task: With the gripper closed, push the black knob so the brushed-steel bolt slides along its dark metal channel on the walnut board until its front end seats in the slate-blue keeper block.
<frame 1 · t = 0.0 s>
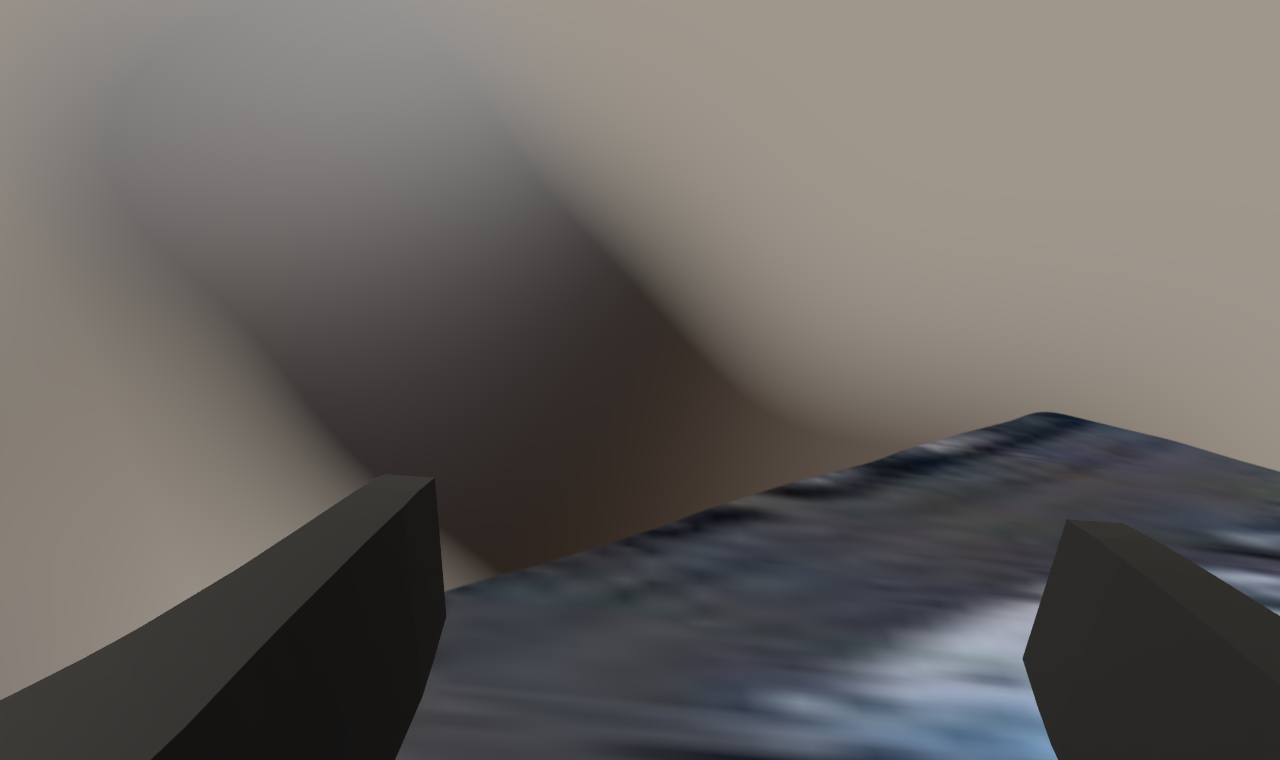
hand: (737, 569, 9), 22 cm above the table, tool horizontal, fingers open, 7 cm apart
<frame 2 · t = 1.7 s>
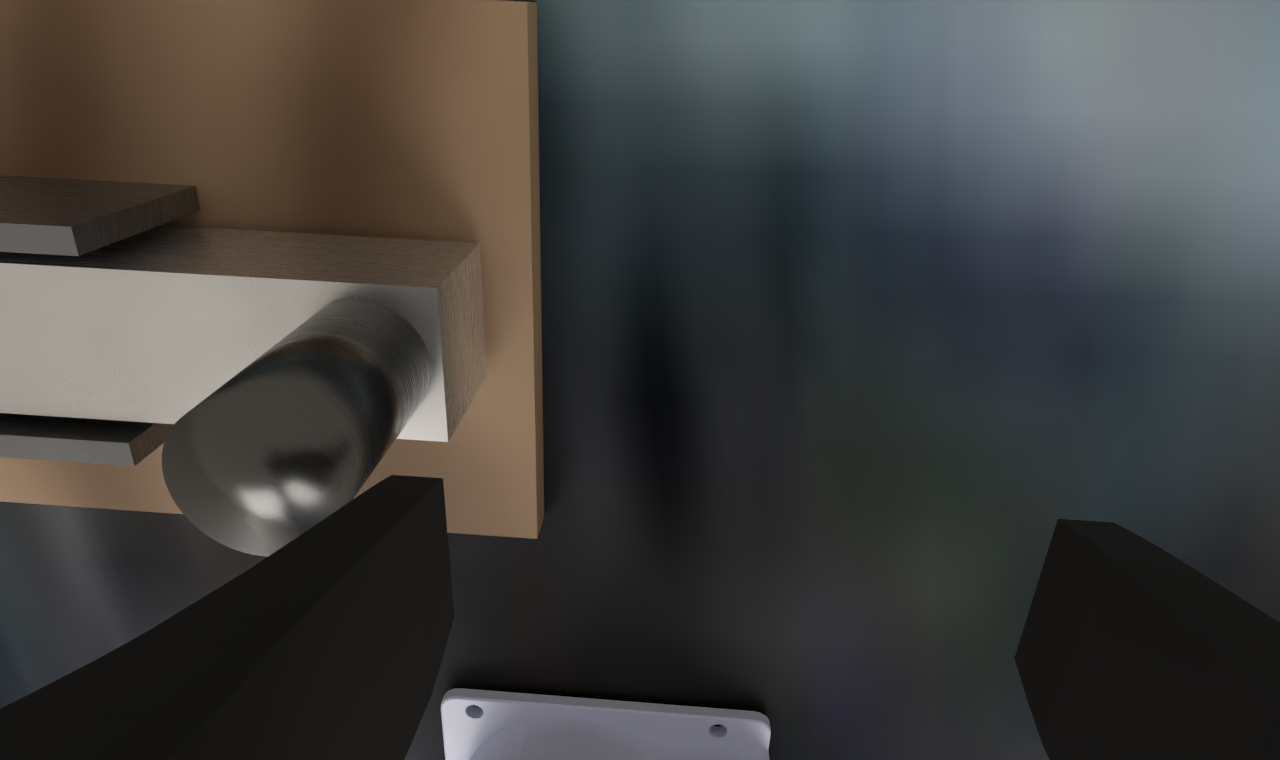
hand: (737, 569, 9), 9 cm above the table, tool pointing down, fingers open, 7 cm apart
bolt: (97, 359, 14), point 5 cm above the table, slide at 0.0 cm
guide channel: (20, 311, 16), on the guide board, point 3 cm above the table
guide board: (114, 270, 18), on the table
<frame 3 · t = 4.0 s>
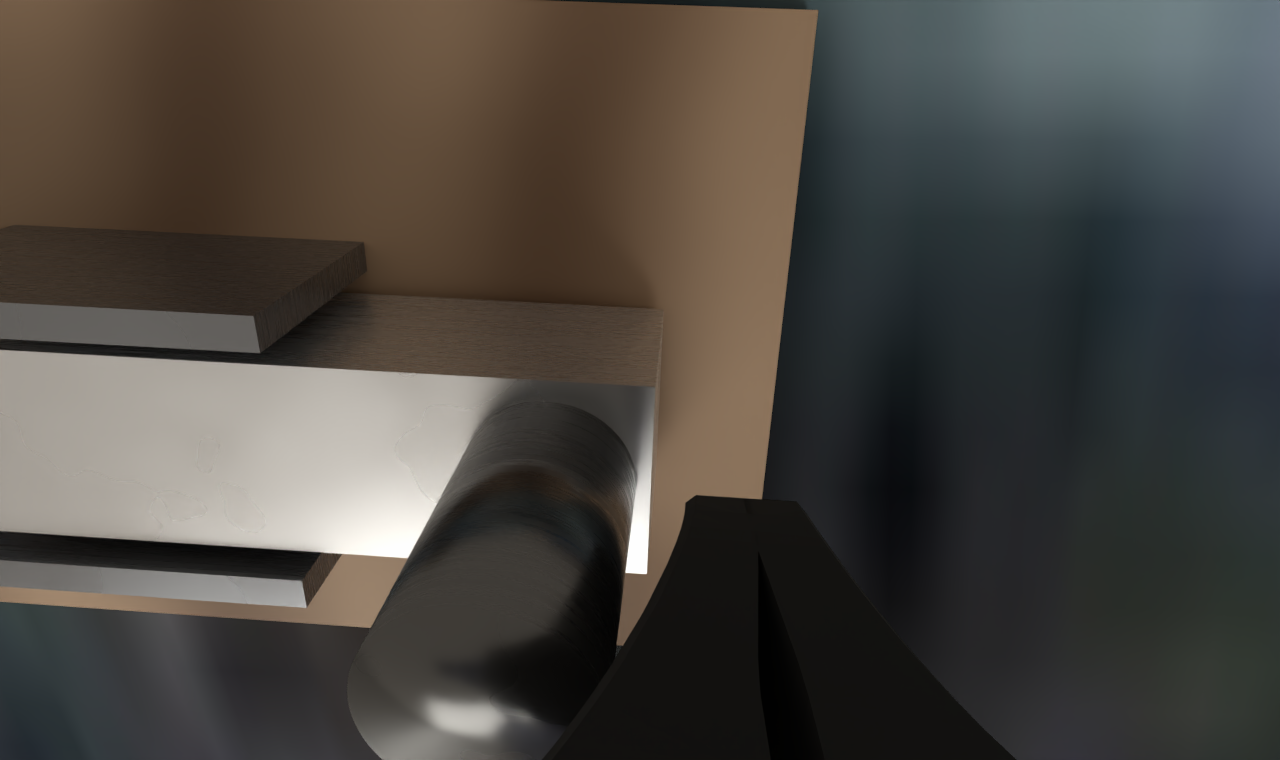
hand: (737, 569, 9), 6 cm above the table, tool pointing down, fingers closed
bolt: (203, 478, 11), point 5 cm above the table, slide at 1.0 cm, touching gripper
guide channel: (151, 403, 12), on the guide board, point 3 cm above the table
guide board: (243, 339, 15), on the table
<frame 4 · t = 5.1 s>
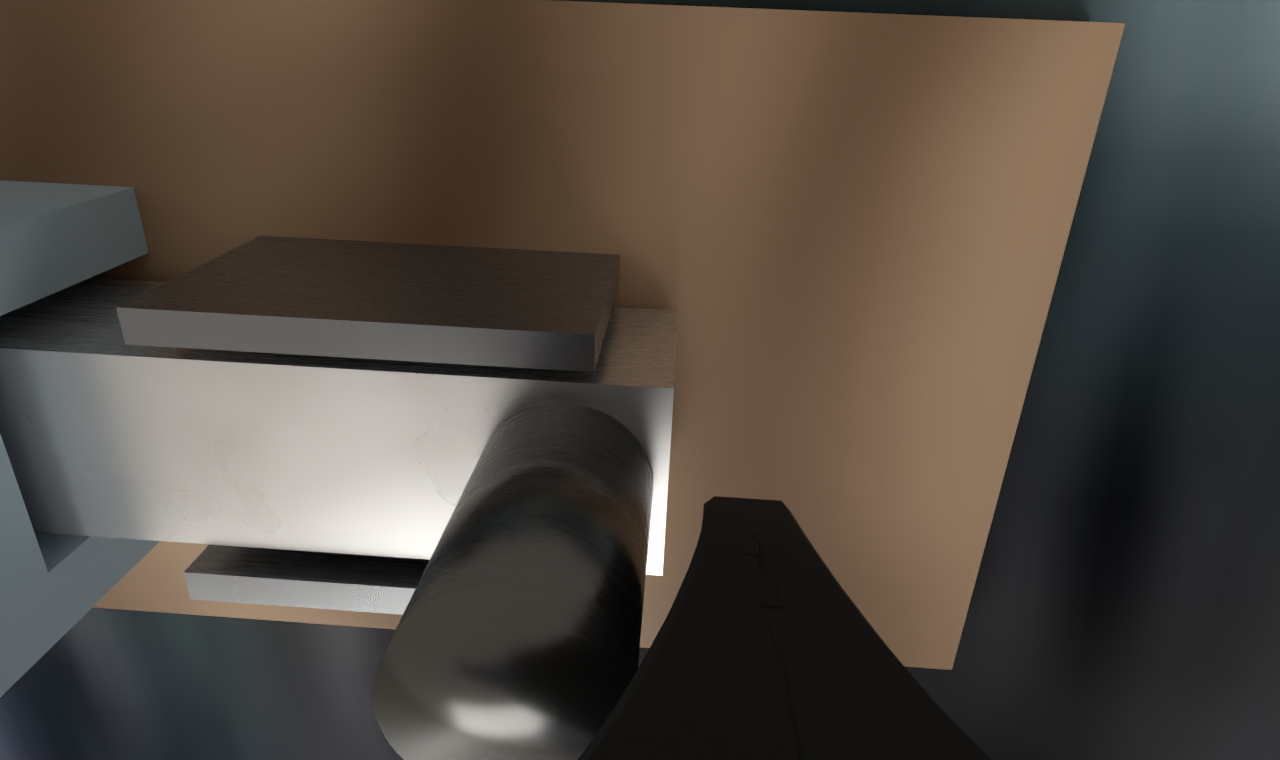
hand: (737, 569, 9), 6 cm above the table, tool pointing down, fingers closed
bolt: (219, 478, 11), point 5 cm above the table, slide at 5.0 cm, touching gripper, keeper
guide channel: (414, 419, 12), on the guide board, point 3 cm above the table
guide board: (462, 350, 15), on the table
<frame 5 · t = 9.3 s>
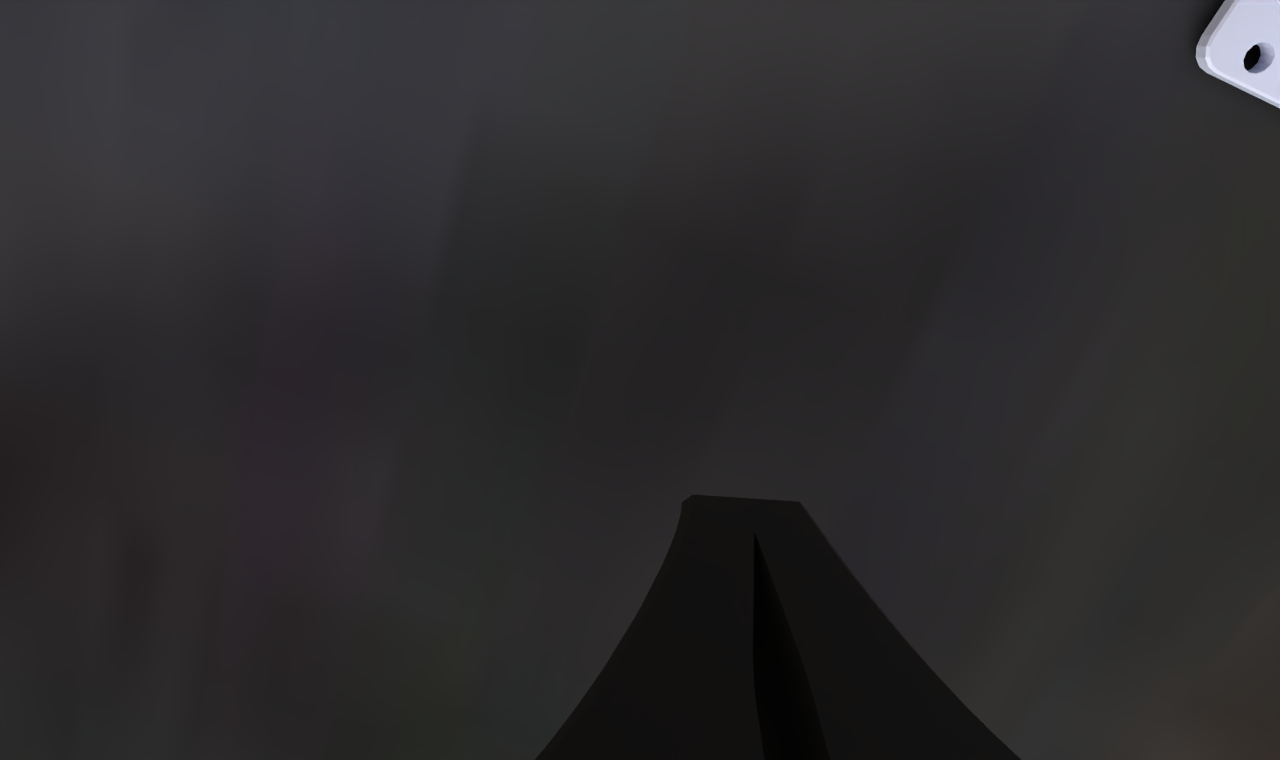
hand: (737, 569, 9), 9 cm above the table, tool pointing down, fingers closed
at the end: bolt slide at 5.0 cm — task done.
